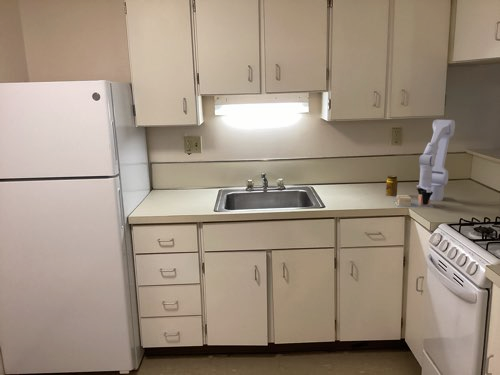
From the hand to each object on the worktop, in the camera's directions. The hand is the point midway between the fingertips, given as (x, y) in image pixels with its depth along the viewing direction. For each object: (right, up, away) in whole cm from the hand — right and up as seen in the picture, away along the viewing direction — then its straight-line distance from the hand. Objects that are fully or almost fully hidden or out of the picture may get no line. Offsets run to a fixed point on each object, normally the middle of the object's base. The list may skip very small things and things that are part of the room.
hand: (423, 203), depth 220 cm
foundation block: (-10, -1, +2) cm, 10 cm away
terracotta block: (0, -1, 0) cm, 1 cm away
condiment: (-9, +3, +23) cm, 25 cm away
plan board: (-5, -2, +2) cm, 5 cm away
